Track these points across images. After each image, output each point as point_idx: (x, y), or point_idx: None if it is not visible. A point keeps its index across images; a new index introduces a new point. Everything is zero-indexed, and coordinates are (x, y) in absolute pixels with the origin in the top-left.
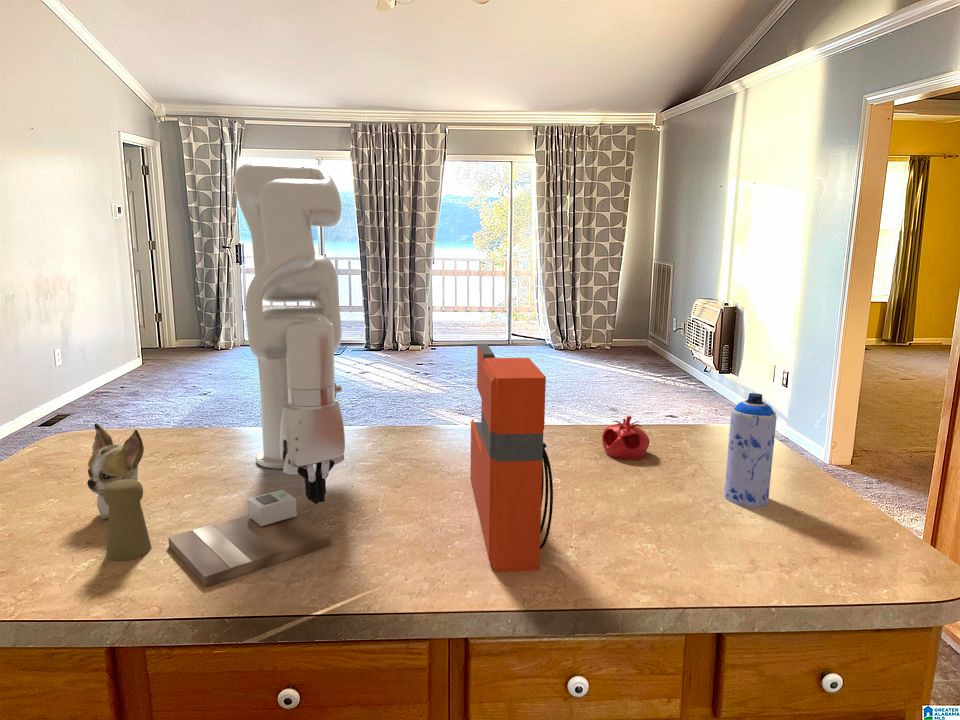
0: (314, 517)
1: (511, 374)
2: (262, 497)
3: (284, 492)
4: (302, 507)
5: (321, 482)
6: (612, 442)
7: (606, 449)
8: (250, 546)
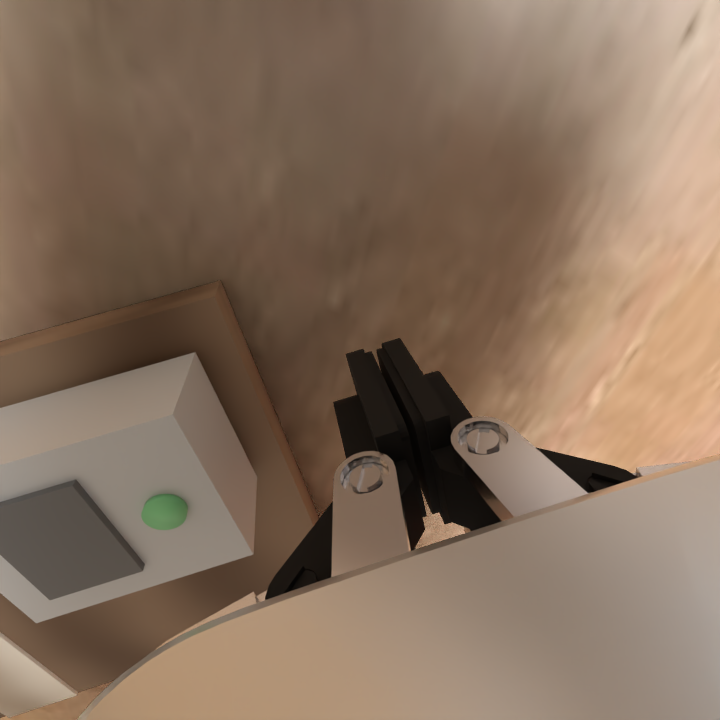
0: (347, 378)
1: None
2: (21, 528)
3: (188, 464)
4: (320, 239)
5: (440, 511)
6: None
7: None
8: (57, 627)
